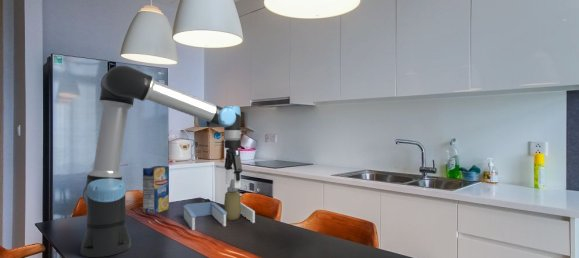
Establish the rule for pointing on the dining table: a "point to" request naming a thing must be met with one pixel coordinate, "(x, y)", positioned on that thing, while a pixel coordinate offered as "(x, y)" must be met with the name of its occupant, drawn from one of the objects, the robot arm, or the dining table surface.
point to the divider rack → (212, 212)
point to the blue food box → (155, 189)
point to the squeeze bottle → (232, 202)
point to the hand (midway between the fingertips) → (233, 185)
